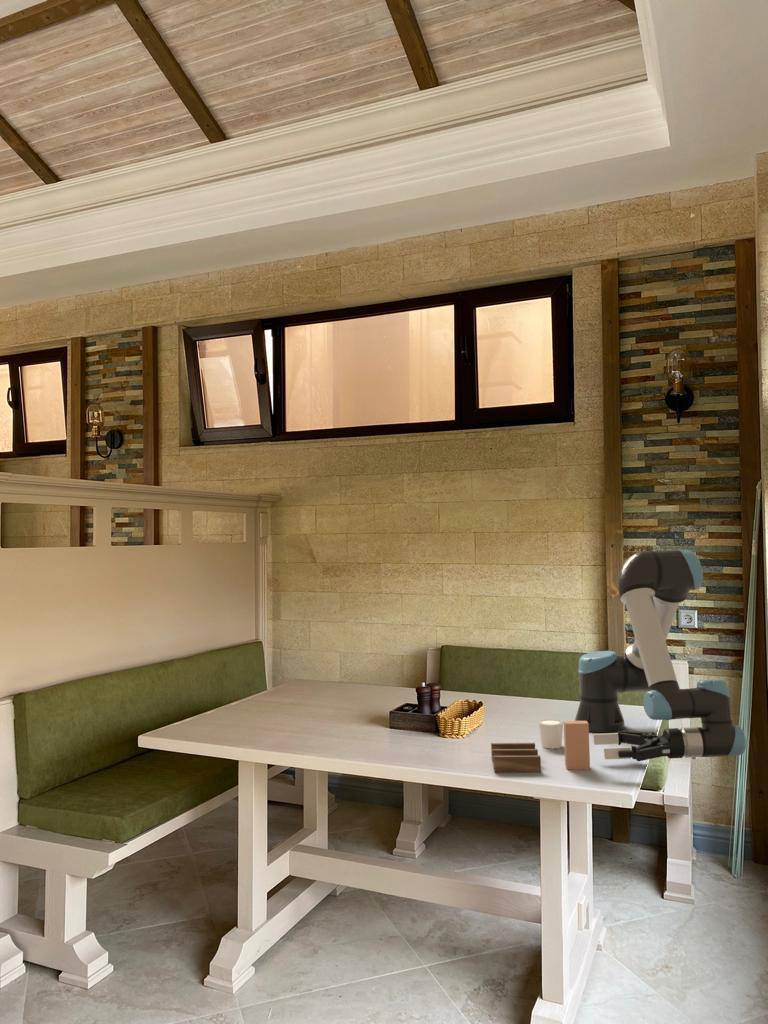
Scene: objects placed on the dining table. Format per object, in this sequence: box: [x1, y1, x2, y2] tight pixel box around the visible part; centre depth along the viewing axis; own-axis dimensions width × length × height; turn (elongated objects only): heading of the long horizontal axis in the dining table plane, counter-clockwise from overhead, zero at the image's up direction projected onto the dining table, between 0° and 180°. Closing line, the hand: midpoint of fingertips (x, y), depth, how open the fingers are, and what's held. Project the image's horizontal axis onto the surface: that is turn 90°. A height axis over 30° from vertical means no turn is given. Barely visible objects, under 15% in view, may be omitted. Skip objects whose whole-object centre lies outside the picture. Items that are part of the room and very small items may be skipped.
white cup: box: [538, 719, 564, 750], centre depth 228 cm, size 7×7×7 cm
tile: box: [563, 720, 591, 770], centre depth 207 cm, size 3×6×12 cm, turn 85°
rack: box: [490, 742, 542, 773], centre depth 211 cm, size 14×12×4 cm
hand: (598, 746), depth 206 cm, fingers open, 13 cm apart
